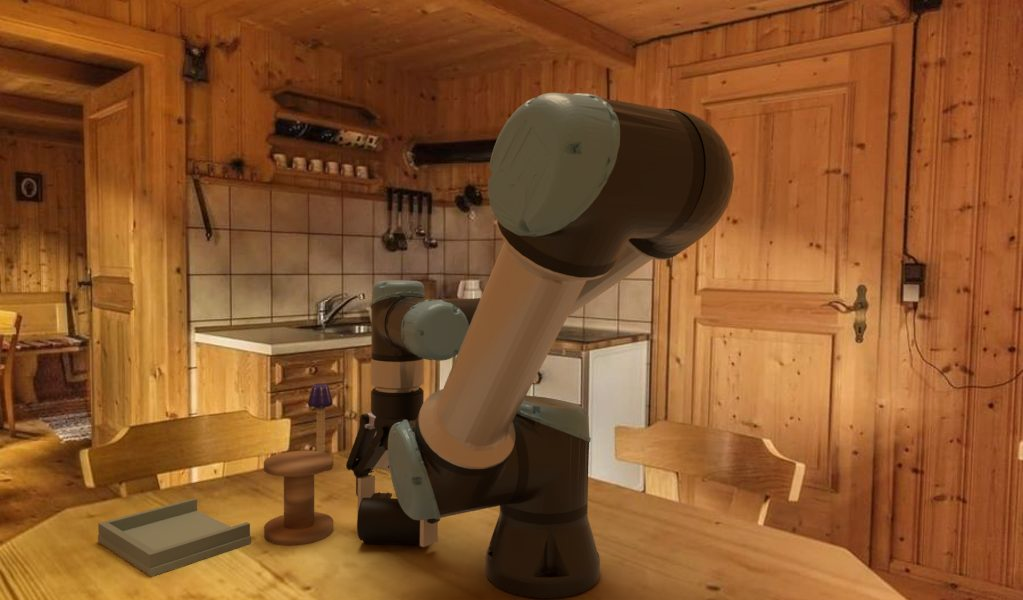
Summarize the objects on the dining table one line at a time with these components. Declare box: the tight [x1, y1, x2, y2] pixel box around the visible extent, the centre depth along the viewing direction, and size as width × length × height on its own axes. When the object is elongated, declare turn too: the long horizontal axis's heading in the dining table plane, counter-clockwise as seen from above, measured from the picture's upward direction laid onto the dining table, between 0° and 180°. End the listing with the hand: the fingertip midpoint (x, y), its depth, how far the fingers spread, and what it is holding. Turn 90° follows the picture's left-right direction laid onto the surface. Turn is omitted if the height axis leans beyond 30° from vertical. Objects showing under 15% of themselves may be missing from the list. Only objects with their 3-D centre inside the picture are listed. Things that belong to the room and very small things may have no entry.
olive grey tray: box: [97, 497, 252, 578], centre depth 100 cm, size 17×14×3 cm
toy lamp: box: [307, 383, 333, 470], centre depth 135 cm, size 5×5×17 cm
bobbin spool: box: [263, 450, 334, 546], centre depth 104 cm, size 10×10×11 cm
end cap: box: [356, 491, 420, 546], centre depth 101 cm, size 10×7×7 cm
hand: (396, 530), depth 101 cm, fingers open, 13 cm apart
